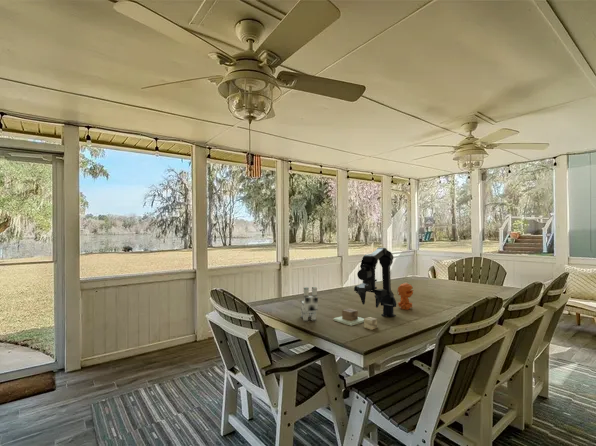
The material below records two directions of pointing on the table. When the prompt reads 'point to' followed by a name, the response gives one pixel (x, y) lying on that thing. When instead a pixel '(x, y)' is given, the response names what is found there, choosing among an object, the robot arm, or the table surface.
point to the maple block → (370, 323)
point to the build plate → (353, 322)
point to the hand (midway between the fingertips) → (370, 305)
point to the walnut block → (350, 314)
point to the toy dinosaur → (405, 296)
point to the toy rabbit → (309, 304)
